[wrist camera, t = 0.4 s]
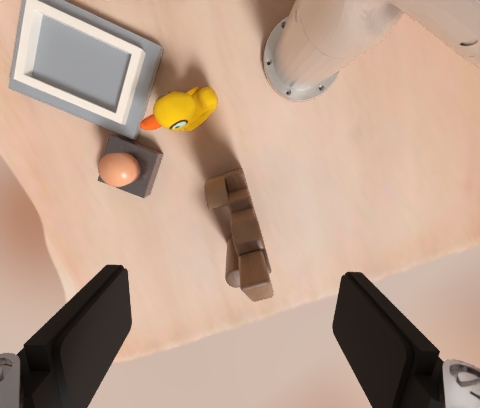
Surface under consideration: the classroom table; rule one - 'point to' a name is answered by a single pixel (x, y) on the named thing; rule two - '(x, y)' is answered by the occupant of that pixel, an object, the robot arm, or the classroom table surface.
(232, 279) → the wooden toy
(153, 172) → the button base
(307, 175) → the classroom table surface
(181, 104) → the duckling
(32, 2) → the tray
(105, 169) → the button
